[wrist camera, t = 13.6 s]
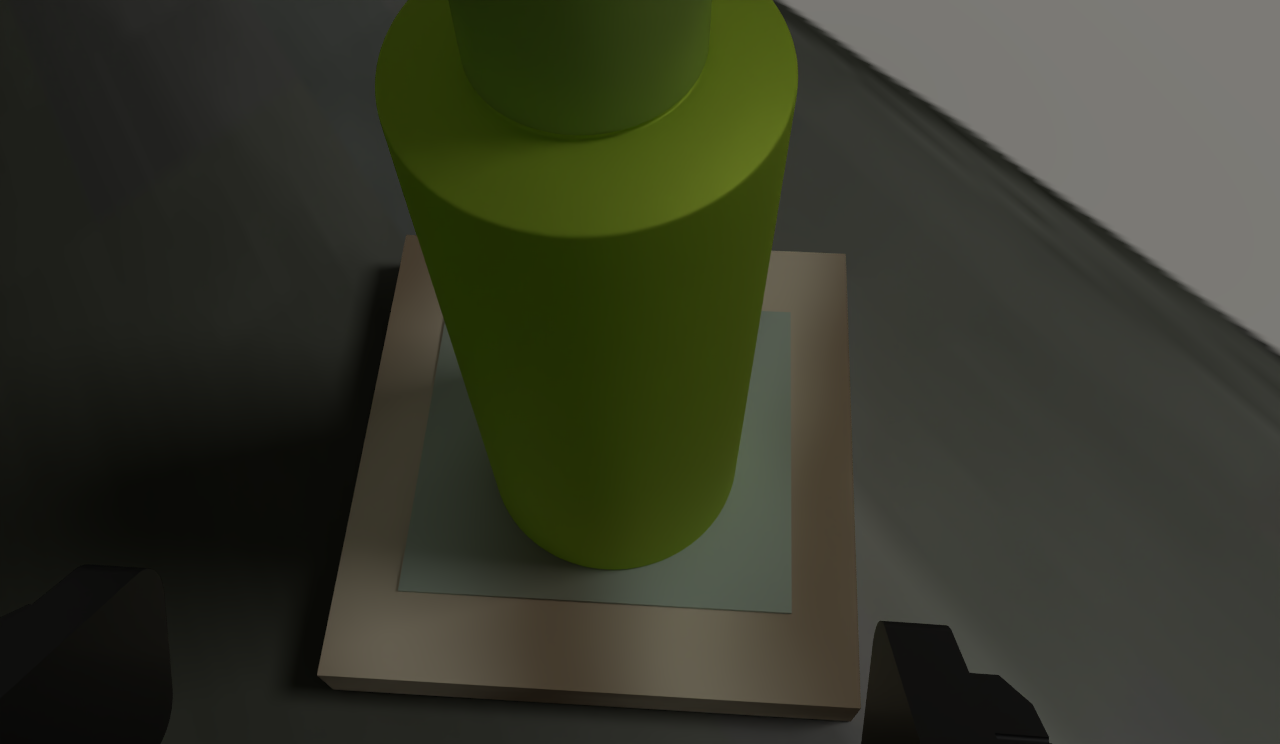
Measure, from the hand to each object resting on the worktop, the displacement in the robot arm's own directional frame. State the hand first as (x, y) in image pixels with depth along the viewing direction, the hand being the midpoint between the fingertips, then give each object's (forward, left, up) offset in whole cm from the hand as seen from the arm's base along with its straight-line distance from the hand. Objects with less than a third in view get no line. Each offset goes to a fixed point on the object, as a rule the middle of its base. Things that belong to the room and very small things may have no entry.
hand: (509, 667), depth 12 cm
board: (0, -8, -14) cm, 16 cm away
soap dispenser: (0, -8, -12) cm, 15 cm away
